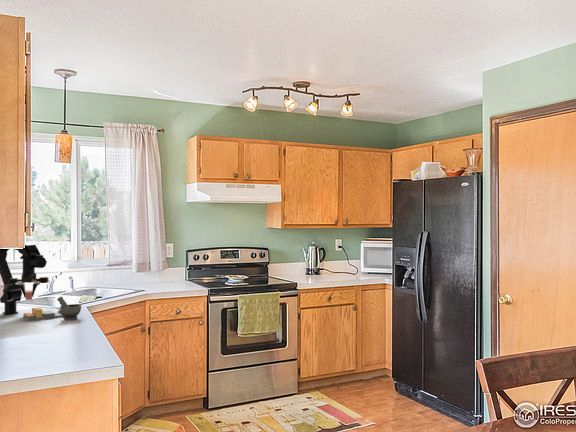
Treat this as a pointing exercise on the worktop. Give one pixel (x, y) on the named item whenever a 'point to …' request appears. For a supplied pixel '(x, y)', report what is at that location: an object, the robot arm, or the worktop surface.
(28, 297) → the brick plug
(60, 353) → the worktop surface
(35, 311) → the ochre plug
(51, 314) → the slot rack
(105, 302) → the worktop surface
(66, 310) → the mortar and pestle
